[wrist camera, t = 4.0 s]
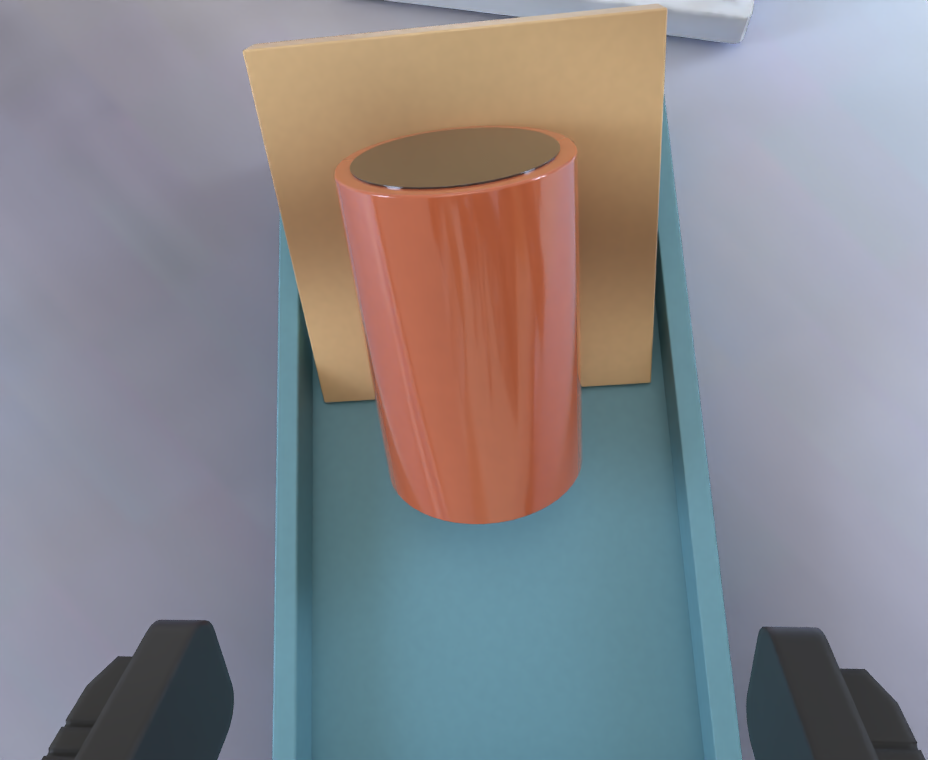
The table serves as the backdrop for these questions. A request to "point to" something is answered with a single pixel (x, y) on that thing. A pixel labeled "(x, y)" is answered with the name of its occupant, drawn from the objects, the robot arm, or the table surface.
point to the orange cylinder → (470, 314)
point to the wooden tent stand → (463, 105)
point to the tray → (504, 578)
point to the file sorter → (688, 6)
